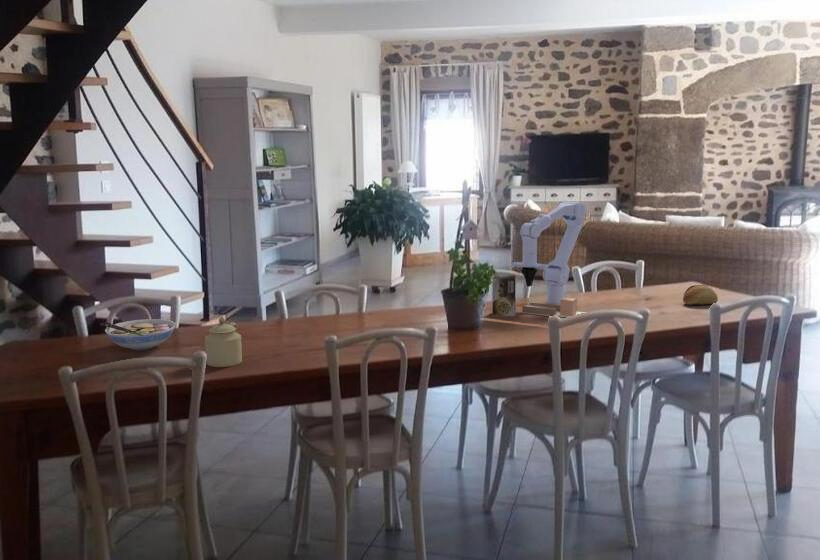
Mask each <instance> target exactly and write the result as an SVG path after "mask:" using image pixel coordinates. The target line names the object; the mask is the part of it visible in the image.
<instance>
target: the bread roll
mask: <svg viewBox="0 0 820 560" xmlns="http://www.w3.org/2000/svg"><path fill="white" fill-rule="evenodd" d="M682 300H683V303H684V304H685V305H689V306H690V305H692V306H693V305H713V304H712V303H715V304H716V303H717V302H718V300H719V299H718V295H717V293H716V291H715V289H713V288H711V287H709V286H708V285H705V284H703V285H702V284H697V285H696V284H695V285H691V286H689V287H688V288H686V290H685V292H684V293H683V298H682Z"/></svg>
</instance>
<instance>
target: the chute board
mask: <svg viewBox="0 0 820 560" xmlns="http://www.w3.org/2000/svg"><path fill="white" fill-rule="evenodd" d="M521 310H522V312H521V314H529V315H539V316H548V317H551V316H550V315H557V316H560V317H559V318H563V317H568V316H567V315H560V304H553V303H546V302H542V301H530V302H529V304H524V305H522V309H521ZM581 313H586V312H583V311H576V314H575V315H577V314H581Z"/></svg>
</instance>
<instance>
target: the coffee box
mask: <svg viewBox="0 0 820 560" xmlns="http://www.w3.org/2000/svg"><path fill="white" fill-rule="evenodd" d="M493 275H494V274H493ZM516 281H517V279H516V275H514V274H513V275H510V274H506V275H505V274H504V275H503V274H502V275H501V274H498V275H496V274H495V275H494V278H493V283H492V282H491V283H492V284H491V290H492V291H491V293H492V294H491V297H492V298H491V299H492V300H491V304H492V305H491V307H492V310H491V312H492V313H491V314H492V317H516V310H517V309H516V305H517V304H516Z"/></svg>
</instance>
